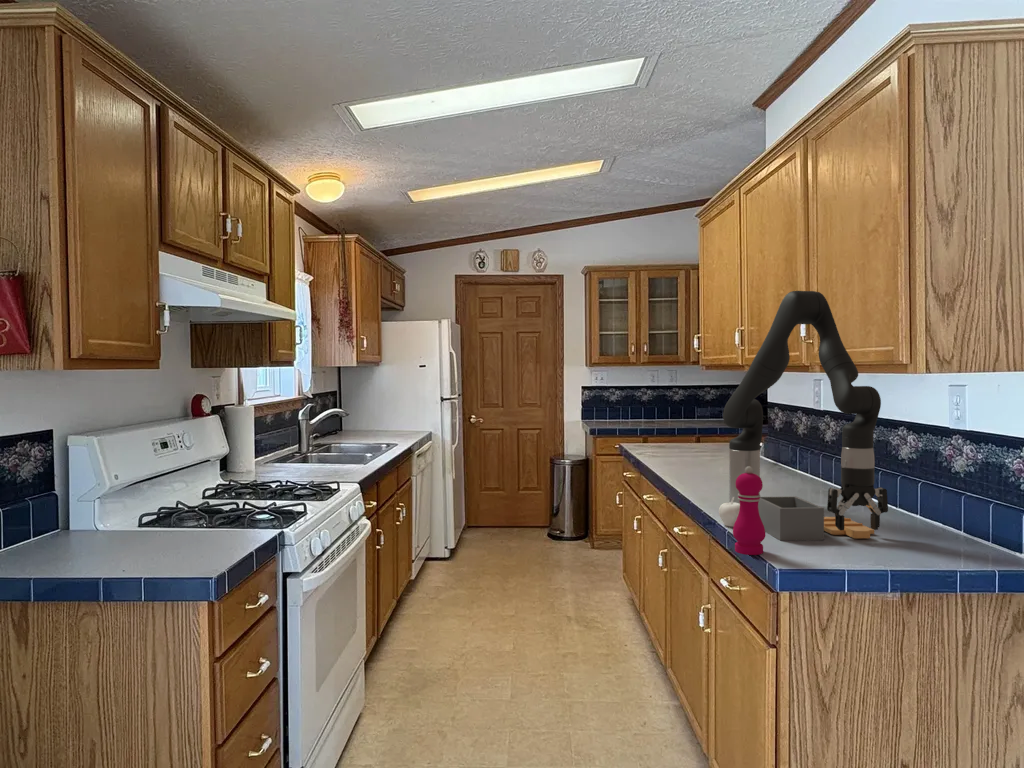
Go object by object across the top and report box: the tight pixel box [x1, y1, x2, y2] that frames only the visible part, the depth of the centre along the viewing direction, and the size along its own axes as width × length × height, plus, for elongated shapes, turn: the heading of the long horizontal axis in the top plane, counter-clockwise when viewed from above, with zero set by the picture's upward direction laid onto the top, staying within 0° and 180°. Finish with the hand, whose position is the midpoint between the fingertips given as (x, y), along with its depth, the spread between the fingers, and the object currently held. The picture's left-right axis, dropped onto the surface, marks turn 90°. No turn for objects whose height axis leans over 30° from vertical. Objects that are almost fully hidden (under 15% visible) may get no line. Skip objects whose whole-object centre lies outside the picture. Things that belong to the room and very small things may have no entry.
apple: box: [718, 497, 740, 528], centre depth 187 cm, size 7×7×8 cm
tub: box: [758, 495, 825, 541], centre depth 178 cm, size 16×11×8 cm
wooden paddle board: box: [824, 516, 875, 539], centre depth 181 cm, size 20×11×3 cm, turn 1°
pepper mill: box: [732, 466, 766, 556], centre depth 160 cm, size 7×7×20 cm
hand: (857, 529), depth 173 cm, fingers open, 8 cm apart
